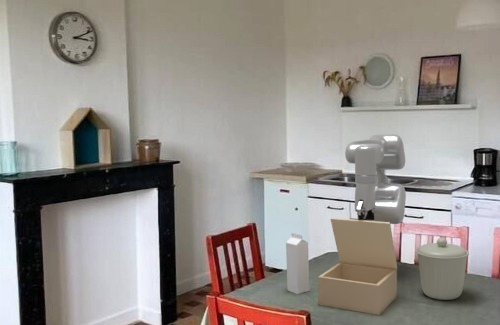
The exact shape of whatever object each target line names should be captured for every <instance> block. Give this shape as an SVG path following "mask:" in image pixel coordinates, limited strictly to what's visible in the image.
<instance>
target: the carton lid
mask: <svg viewBox="0 0 500 325" xmlns="http://www.w3.org/2000/svg"><path fill="white" fill-rule="evenodd" d="M330 223H331V226H332V227H331V228H332V232H333V236H334V237H333V238H334V242H335V247H336V251H337V255H338V260H339V263H340V262H341V263H349V264H357V265H367V266H375V267H383V268H388V269H396V270H398V263H397V257H396V251H395V250H396V249H395V245H394V244H395V243H394V239H393V238H394V237H393V231H392V227H391V226H392V224H390V222H382V221H380V220H368V219H367V221H366V220H358V218H354V217H352V218H351V217H350V218H340V217H339V218H338V217H330Z"/></svg>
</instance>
